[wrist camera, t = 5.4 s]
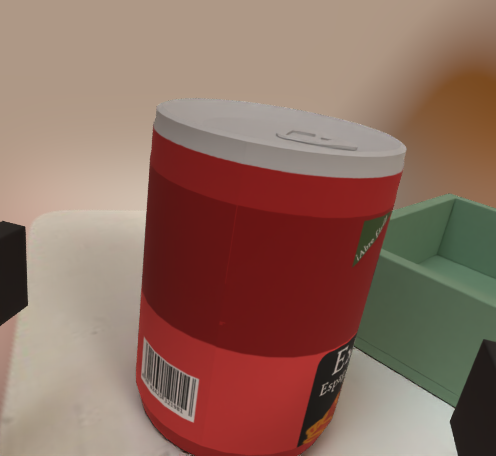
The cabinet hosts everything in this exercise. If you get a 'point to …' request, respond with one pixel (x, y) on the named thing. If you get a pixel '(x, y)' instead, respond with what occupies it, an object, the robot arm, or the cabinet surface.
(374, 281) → the tote
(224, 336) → the canned food
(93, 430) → the cabinet surface
